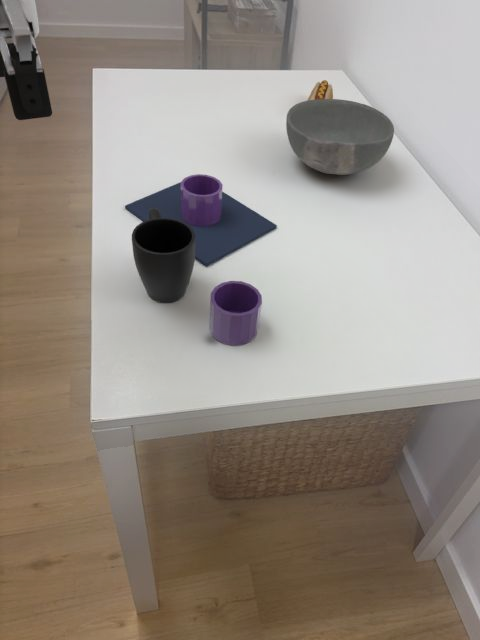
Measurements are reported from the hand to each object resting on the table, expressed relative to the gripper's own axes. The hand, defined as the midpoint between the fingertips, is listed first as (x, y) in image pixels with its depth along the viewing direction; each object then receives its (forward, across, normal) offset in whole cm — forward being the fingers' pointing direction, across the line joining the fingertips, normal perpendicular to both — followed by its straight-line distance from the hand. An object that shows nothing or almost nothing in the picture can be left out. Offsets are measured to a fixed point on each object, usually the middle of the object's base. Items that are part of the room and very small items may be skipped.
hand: (21, 94), depth 50 cm
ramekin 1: (+28, -13, +25) cm, 40 cm away
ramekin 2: (+28, +12, +19) cm, 36 cm away
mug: (+28, -1, +14) cm, 32 cm away
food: (+28, -43, +68) cm, 85 cm away
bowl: (+28, -20, +56) cm, 66 cm away
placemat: (+28, -13, +25) cm, 40 cm away
